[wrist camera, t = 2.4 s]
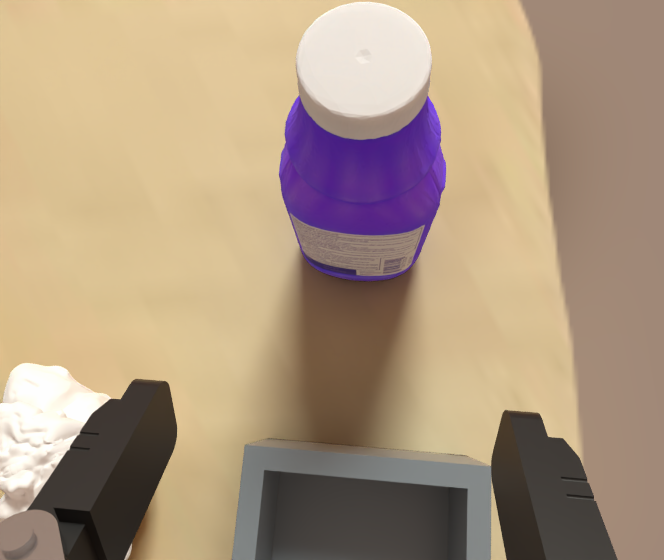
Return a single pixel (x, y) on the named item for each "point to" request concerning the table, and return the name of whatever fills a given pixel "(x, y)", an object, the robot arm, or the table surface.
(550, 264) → the table surface
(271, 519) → the tote
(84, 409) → the bust
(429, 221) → the bottle
